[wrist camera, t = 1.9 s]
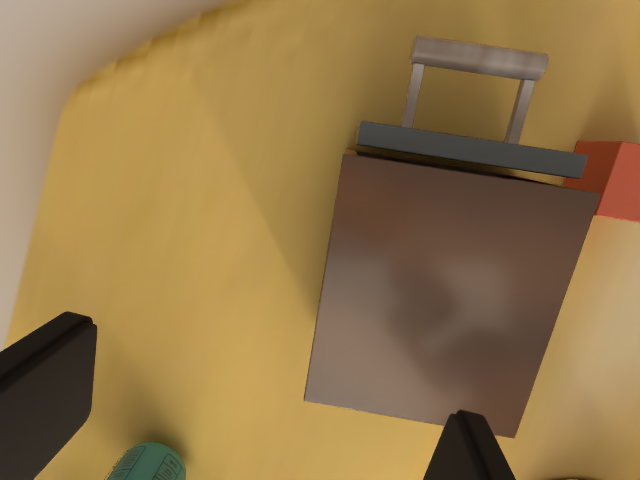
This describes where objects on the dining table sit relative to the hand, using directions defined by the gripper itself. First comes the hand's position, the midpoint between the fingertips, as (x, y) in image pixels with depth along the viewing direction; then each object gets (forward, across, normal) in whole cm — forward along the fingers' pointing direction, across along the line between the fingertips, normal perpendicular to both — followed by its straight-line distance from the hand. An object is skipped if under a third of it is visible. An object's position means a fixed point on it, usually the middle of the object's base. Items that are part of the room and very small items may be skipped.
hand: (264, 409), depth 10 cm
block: (+20, -19, -8) cm, 29 cm away
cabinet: (+20, -7, +1) cm, 22 cm away
